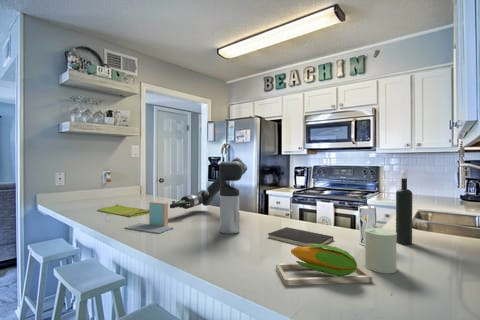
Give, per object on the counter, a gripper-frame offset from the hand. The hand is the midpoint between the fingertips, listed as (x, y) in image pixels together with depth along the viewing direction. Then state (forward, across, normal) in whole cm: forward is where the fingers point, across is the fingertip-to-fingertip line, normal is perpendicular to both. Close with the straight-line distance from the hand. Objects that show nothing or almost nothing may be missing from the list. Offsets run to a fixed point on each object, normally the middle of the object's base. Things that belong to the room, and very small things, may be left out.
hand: (170, 206), depth 147 cm
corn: (+34, -85, -6) cm, 92 cm away
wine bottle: (-12, -111, -8) cm, 112 cm away
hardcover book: (+1, -71, -9) cm, 72 cm away
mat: (+17, 0, -8) cm, 19 cm away
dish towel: (-7, +45, -9) cm, 46 cm away
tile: (+10, 0, -8) cm, 13 cm away
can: (+21, -101, -8) cm, 104 cm away
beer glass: (-4, -98, -8) cm, 98 cm away
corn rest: (+35, -85, -7) cm, 92 cm away
